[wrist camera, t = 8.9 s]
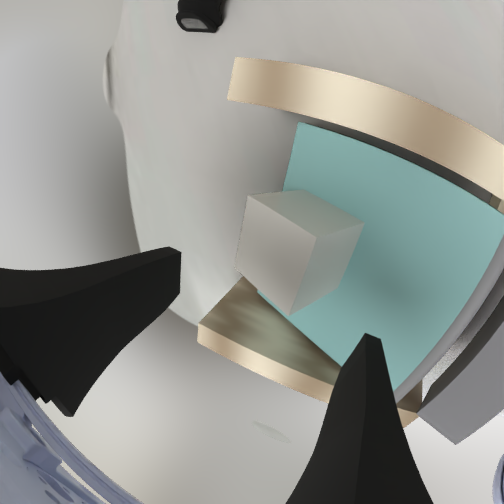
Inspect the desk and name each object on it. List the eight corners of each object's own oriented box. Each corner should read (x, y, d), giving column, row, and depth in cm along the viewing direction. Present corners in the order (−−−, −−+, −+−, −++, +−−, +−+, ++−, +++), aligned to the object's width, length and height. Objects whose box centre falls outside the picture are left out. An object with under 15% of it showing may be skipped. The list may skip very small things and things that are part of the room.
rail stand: (521, 179, 10) (578, 211, 4) (417, 362, 19) (414, 430, 13) (287, 81, 15) (235, 57, 9) (242, 290, 23) (197, 342, 18)
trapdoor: (578, 275, 5) (596, 300, 3) (462, 417, 11) (447, 453, 9) (331, 129, 16) (297, 121, 13) (288, 279, 22) (256, 292, 20)
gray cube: (364, 222, 12) (316, 237, 10) (337, 288, 14) (288, 316, 12) (304, 189, 14) (247, 194, 12) (286, 250, 17) (234, 267, 14)
